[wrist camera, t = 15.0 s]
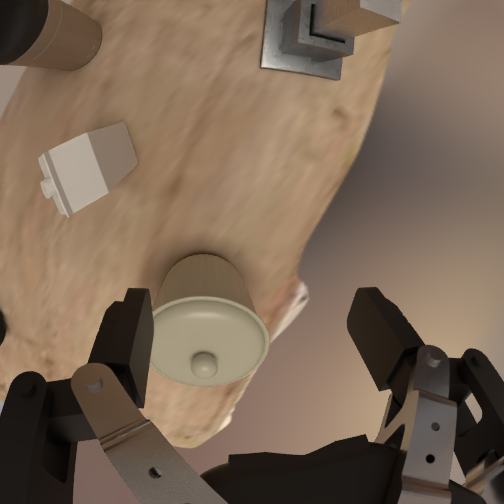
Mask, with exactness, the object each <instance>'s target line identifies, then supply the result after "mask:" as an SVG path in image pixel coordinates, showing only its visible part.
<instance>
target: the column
mask: <svg viewBox="0 0 504 504" xmlns="http://www.w3.org/2000/svg"><path fill="white" fill-rule="evenodd" d="M399 23H401V0H321V1H319V2H318V3H317V4H316V5H314V6H313V7H312V8H311V15H310V27H309V35H310V36H314V37H319V38H324V39H328V40H332V41H336V42H342V41H345V40H347V39H350V38H353V37H356V36H359V35H362V34H365V33H368V32H371V31H374V30H378V29H381V28H384V27H388V26H391V25H395V24H399Z"/></svg>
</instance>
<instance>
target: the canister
mask: <svg viewBox="0 0 504 504" xmlns="http://www.w3.org/2000/svg"><path fill="white" fill-rule="evenodd" d="M152 313H153V320H154V338H153V344H152V351H151V357H150V364H149V365H150V366H151V367H152V368H153V369H154V370H155V371H157V372H158V373H160V374H161V375H163V376H164V377H166V378H168V379H170V380H173V381H176V382H179V383H182V384H186V385H192V386H204V387H207V386H219V385H224V384H228V383H232V382H235V381H237V380H240V379H242V378H244V377H246V376H247V375H249V374H250V373H252V372H253V371H254V370H255V369H257V368H258V367H259V366H260V364H261V363H262V362H263V360H264V359H265V357H266V355H267V353H268V350H269V345H270V338H269V333H268V330H267V327H266V325H265V324H264V322H263V321H262V319H261V318H260V317H259V316H258V315H257V313H256V311H255V308H254V306H253V304H252V301H251V298H250V296H249V294H248V291H247V289H246V287H245V284H244V282H243V280H242V278H241V276H240V274H239V273H238V271H237V270H236V269H235V268H234V266H232V265H231V264H230V263H229V262H227V261H225V260H224V259H222V258H219V257H218V256H213V255H208V254H198V255H193V256H188V257H187V258H185V259H182V260H181V261H180V262H177V263H176V265H175V266H173V267H172V268H171V270H170V271H169V272H168V274H167V276H166V278H165V280H164V282H163V284H162V286H161V288H160V291H159V293H158V295H157V298H156V300H155V303H154V306H153V308H152Z"/></svg>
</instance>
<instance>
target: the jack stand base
mask: <svg viewBox="0 0 504 504" xmlns="http://www.w3.org/2000/svg"><path fill="white" fill-rule="evenodd" d="M319 1H321V0H295V1H294V0H267V2H266V12H265V21H264V31H263V41H262V51H261V61H260V68H265V69H273V70H281V71H288V72H294V73H301V74H306V75H312V76H317V77H322V78H327V79H332V80H340V78H341V68H342V57H346V56H350V55H353V50H354V37H353V38H350V39H347V40H345V41H342V42H336V41H332V40H328V39H324V38H319V37H314V36H310V35H309V27H310V15H311V8H312V7H313V6H314V5H316V4H317V3H318V2H319Z"/></svg>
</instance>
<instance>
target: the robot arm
mask: <svg viewBox="0 0 504 504" xmlns="http://www.w3.org/2000/svg"><path fill="white" fill-rule="evenodd" d="M101 39H102V31H101V28H100V26H99V24H98V23H97V22H96V21H95V20H94V19H92V18H90V17H89V16H87V15H85V14H84V13H82V12H80V11H79V10H77V9H75V8H73V7H72V6H70V5H68V4H66V3H64V2H63V1H61V0H0V65H16V66H17V65H18V66H31V67H42V68H51V69H59V70H75V69H78V68H80V67H82V66H84V65H85V64H87V63H88V62H89V61H90V60H91V59H92V58H93V57H94V55H95V54H96V52H97V51H98V49H99V46H100V44H101ZM347 328H348V332H349V334H350V335H351V338H352V339H353V341H354V343H355V345H356V347H357V349H358V351H359V353H360V355H361V357H362V358H363V360H364V362H365V364H366V366H367V368H368V370H369V372H370V374H371V376H372V378H373V380H374V382H375V384H376V386H377V388H378V390H379V391H383V390H387V389H391V391H392V393H391V394H390V396H389V398H388V402H387V406H386V410H385V414H384V417H383V421H382V424H381V427H380V431H379V433H378V436H377V438H376V439H375V441H374V442H368V439H367V437H366V434H364V435H360V436H356V437H352V438H347V439H343V440H339V441H335V442H333V443H331V444H329V445H327V446H325V447H322V448H320V449H318V450H316V451H314V452H311V453H309V454H306V455H290V454H279V453H268V452H261V453H250V454H234V455H229V458H228V463H226V464H222V465H219V466H217V467H214V468H212V469H210V470H208V471H206V472H204V473H203V474H201V475H200V476H199V475H198V474H197V473H196V472H195V471H194V470H193V469H192V468H191V466H190V465H188V463H187V462H186V461H185V460H184V459H183V458H182V457H181V456H180V454H179V453H178V452H177V451H176V450H175V449H174V448H173V446H172V445H171V444H170V443H169V442H168V441H167V439H166V438H165V437H164V436H163V435H162V433H161V432H160V431H159V430H158V428H157V427H156V426H155V425H154V424H153V423H152V422H151V421H150V420H147V419H146V418H145V417H144V416H143V415H142V413H141V412H140V411H139V409H138V408H144V403H145V395H146V386H147V379H148V371H149V364H150V357H151V351H152V344H153V338H154V320H153V313H152V306H151V299H150V292H149V289H146V288H128V290H127V293H126V295H125V298H124V301H123V302H121V301H115V302H114V303H113V304H112V305H111V306H110V307H109V308H108V309H107V310H106V312H105V314H104V317H103V320H102V322H101V325H100V328H99V331H98V333H97V336H96V339H95V342H94V345H93V348H92V351H91V354H90V357H89V360H88V363H87V364H86V365H83V366H81V367H80V368H78V369H77V370H76V371H75V373H74V374H73V376H72V378H70V379H65V380H58V381H51V382H46V380H45V379H44V377H43V376H42V375H41V374H39V373H37V372H34V371H28V372H24V373H21V374H19V375H18V376H17V377H16V378H15V379H14V380H13V381H12V383H11V385H10V388H9V391H8V393H7V396H6V399H5V402H4V406H3V409H2V412H1V415H0V504H73V484H74V472H75V461H76V452H77V444H78V441H85V440H92V439H98V440H99V441H100V443H101V447H102V449H103V450H104V452H105V453H106V455H107V457H108V458H109V460H110V461H111V463H112V464H113V466H114V467H115V469H116V470H117V472H118V473H119V475H120V476H121V478H122V479H123V480H124V482H125V483H126V485H127V486H128V487H129V489H130V490H131V491H132V493H133V494H134V495H135V497H136V498H137V499H138V500H139V502H140V503H141V504H504V382H503V380H502V378H501V377H500V376H499V374H498V372H497V371H496V370H495V368H494V367H493V365H492V364H491V362H490V361H489V360H488V358H487V357H486V355H484V354H483V353H482V352H481V351H479V350H476V349H472V348H471V349H467V350H466V351H465V352H464V354H463V356H462V357H461V358H448V356H447V355H446V354H445V352H444V351H443V350H441V349H440V348H438V347H436V346H433V345H425V344H424V342H423V341H422V339H421V338H420V337H419V335H418V334H417V332H416V331H415V330H414V328H413V327H412V326H411V324H410V323H409V322H408V320H407V319H406V318H405V316H403V314H402V312H401V311H400V310H399V308H398V307H397V306H396V305H395V304H394V303H392V302H391V301H390V300H388V299H386V298H385V297H384V295H383V294H382V293H381V292H380V290H379V289H378V288H377V287H365V288H358V290H357V291H356V294H355V297H354V300H353V303H352V306H351V309H350V312H349V315H348V318H347ZM471 393H473V395H474V397H475V398H476V400H477V402H478V404H479V405H480V407H481V409H482V418H481V420H480V421H479V422H478V423H476V421H475V419H474V417H473V415H472V413H471V411H470V410H469V408H468V406H467V405H466V402H465V400H466V399H467V397H468V396H469V395H470V394H471ZM453 451H454V452H455V455H456V457H457V459H458V462H459V464H460V466H461V469H462V471H463V474H464V476H465V478H466V481H465V483H464V484H463V485H460V484H458V483H456V482H454V481H452V480H450V479H449V477H450V472H451V465H452V458H453Z"/></svg>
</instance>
